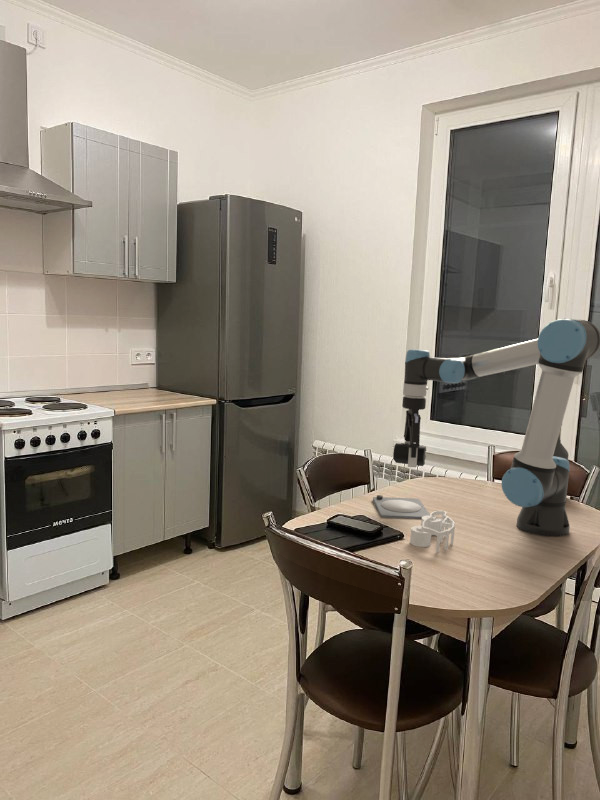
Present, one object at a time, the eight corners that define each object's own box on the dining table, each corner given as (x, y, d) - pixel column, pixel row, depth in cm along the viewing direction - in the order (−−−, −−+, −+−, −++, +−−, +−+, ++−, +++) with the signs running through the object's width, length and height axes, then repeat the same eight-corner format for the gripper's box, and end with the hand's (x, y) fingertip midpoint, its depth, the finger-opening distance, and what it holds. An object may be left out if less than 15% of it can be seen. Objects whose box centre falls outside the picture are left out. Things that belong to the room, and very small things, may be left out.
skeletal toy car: (424, 531, 189) (426, 507, 188) (461, 538, 184) (463, 514, 183) (405, 552, 171) (407, 526, 170) (445, 560, 166) (447, 534, 165)
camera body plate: (431, 521, 197) (432, 514, 197) (381, 519, 197) (381, 512, 196) (418, 502, 217) (418, 495, 217) (372, 501, 217) (373, 494, 216)
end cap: (392, 464, 206) (393, 444, 206) (397, 460, 213) (398, 440, 212) (422, 468, 203) (424, 448, 202) (426, 464, 209) (427, 444, 208)
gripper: (432, 401, 194) (427, 472, 197) (420, 393, 215) (415, 456, 218) (408, 400, 194) (403, 470, 197) (398, 391, 215) (394, 455, 219)
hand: (409, 463), depth 208 cm, fingers closed on end cap, 9 cm apart
